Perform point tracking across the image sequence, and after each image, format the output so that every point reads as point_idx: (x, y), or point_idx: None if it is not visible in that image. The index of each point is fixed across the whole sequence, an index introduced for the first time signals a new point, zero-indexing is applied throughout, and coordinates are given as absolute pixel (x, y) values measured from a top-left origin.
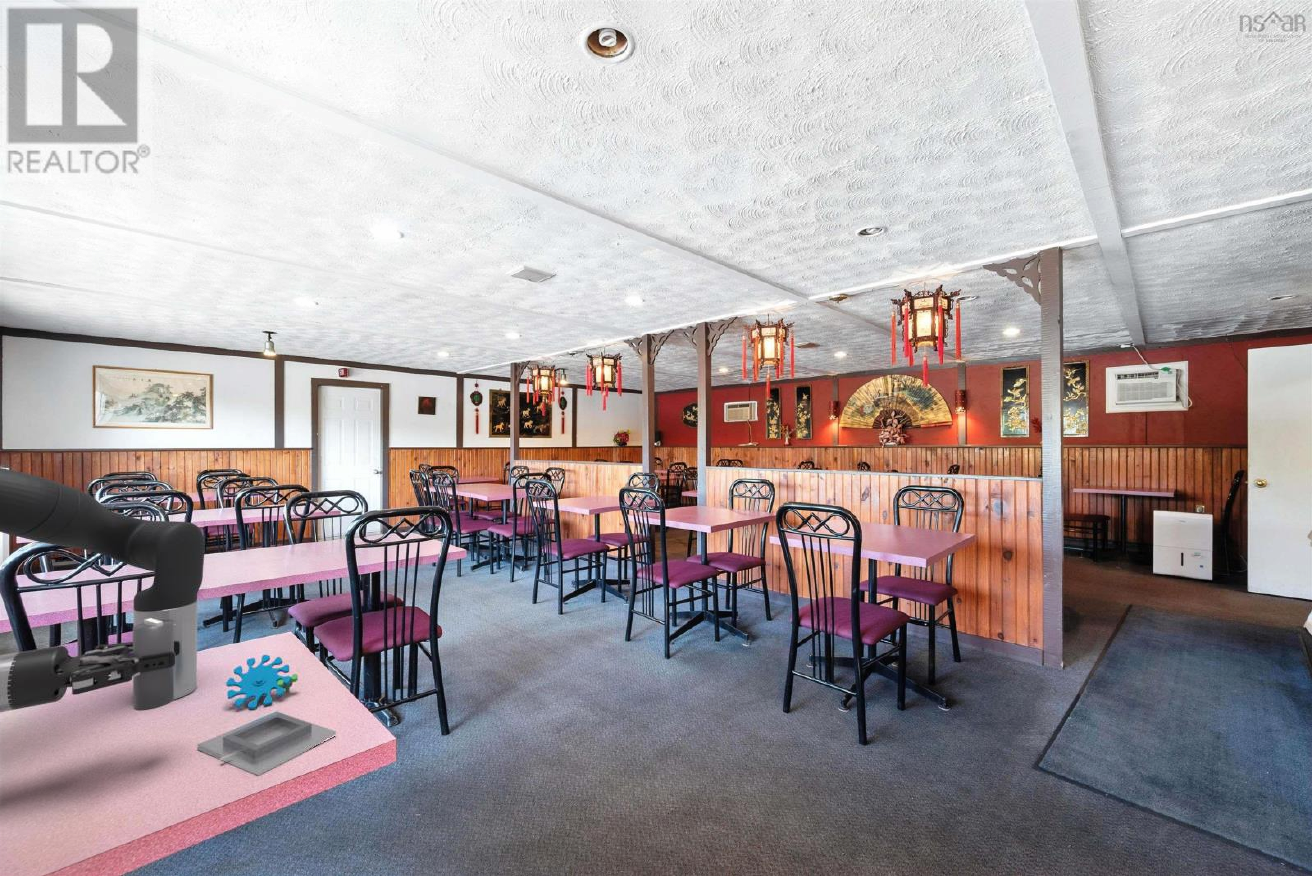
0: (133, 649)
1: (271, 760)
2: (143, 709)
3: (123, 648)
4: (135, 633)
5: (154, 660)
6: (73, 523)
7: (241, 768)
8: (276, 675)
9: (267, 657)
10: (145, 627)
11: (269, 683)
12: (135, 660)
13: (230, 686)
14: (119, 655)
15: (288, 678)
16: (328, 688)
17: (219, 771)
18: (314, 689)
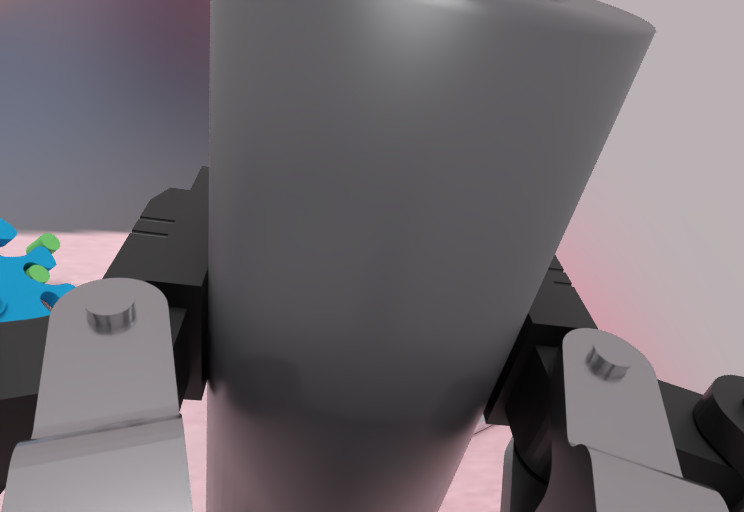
0: (463, 328)
1: None
2: None
3: (177, 455)
4: (608, 100)
5: (573, 293)
6: None
7: (490, 425)
8: (7, 261)
9: None
10: (540, 3)
11: (17, 291)
12: (645, 362)
13: None
14: (603, 456)
15: (45, 253)
16: (102, 241)
17: (481, 470)
18: (71, 259)
